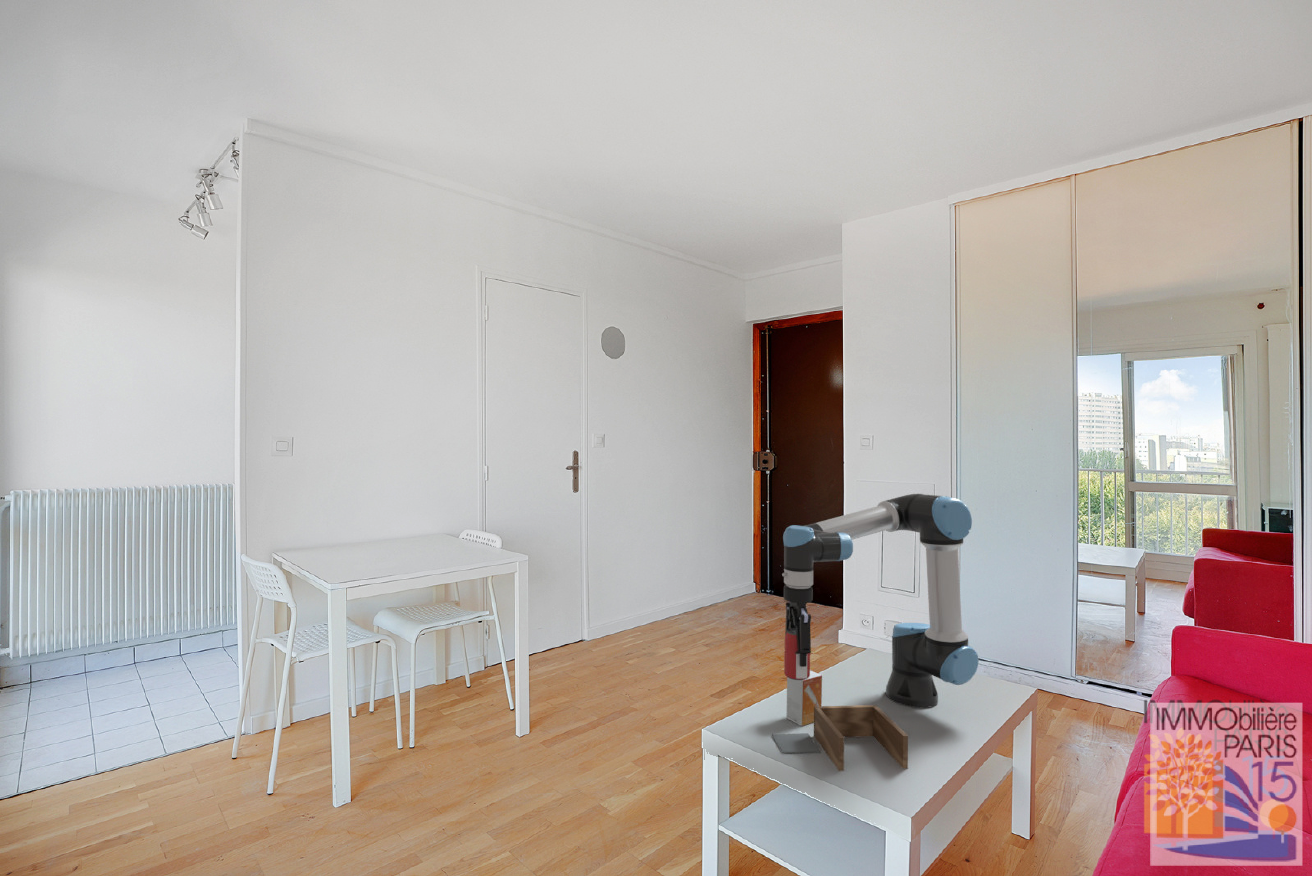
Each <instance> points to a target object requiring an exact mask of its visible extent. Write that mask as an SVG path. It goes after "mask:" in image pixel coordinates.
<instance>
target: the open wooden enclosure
mask: <svg viewBox="0 0 1312 876" xmlns="http://www.w3.org/2000/svg"><path fill="white" fill-rule="evenodd" d="M864 737H865V738H866V737H868V738H870V737H873V738H874V739H875V740H876V741H877V743H878V744H880V746H882V748H884V750H885V751H886V752H887V753H888V755H890V757H892V759H893V760H894V761H895V762H896V763H897V764H898V765H899V766H900V767H901V768H902V769H904V770H905V769H908V768H909V767H908V766H909V765H908V764H909V735H908V734H907V733H906V732H905V731H904V730H903V729H901V728H900V726H898V725H897V724H896V723H895V721H893V720H892V719H891V718H890V717H889V716H888V715H887V714H886V713H885V712H884V711H883V710H882V709H881V708H880V707H878V705H876V704H860V705H855V704H854V705H823V706H822V705H821V706H814V722H813V738H815V740H816V741H817V743H818V744H819V745H820V746H821V748H822V749H823V751H824V752H825V754H826V755H827V756H828V758H829V759H830V760H831V762H832V763H833V764H834V766H835V768H836V769H837V770H838V772H840V771H841V772H844V771H845V761H844V760H845V738H864Z"/></svg>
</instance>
